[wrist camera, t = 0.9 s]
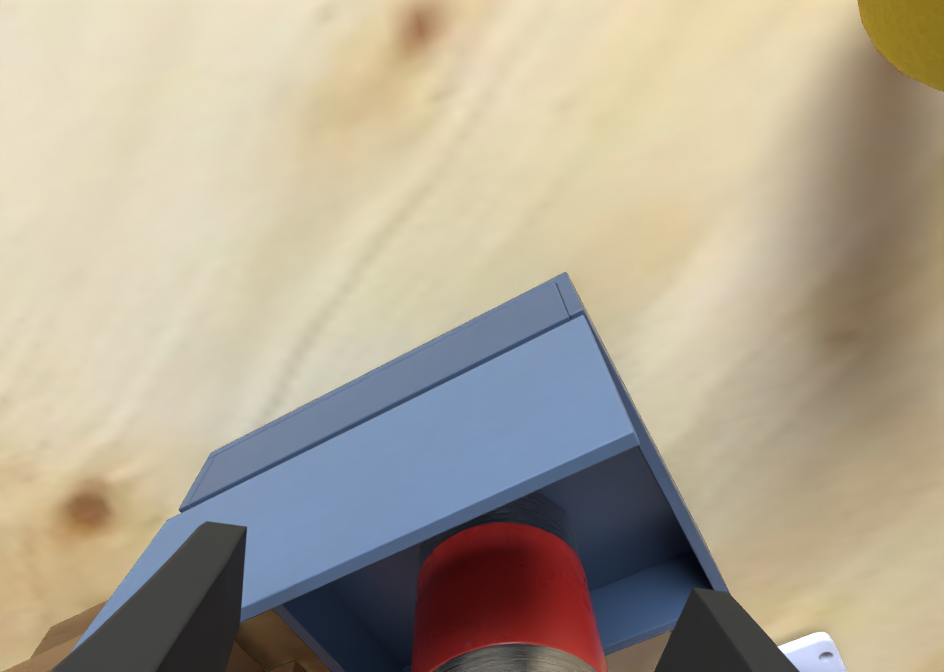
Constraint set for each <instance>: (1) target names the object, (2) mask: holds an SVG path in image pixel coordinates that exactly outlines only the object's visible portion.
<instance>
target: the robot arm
mask: <svg viewBox="0 0 944 672" xmlns="http://www.w3.org/2000/svg"><path fill="white" fill-rule="evenodd" d="M246 537H247V526H239V525H232V524H224V523H217V522H210V521H206V522H204V523H203V524H201V525H199V526H198V527H197V529H196V530H195V531H194V532H193V533H192V534H191V535H190V536H189V537H188V539H187V540H186V541H185V542H184V543H183V544H182V545H181V546H180V547H179V548H178V549H177V551H176V552H175V553H174V554H173V555H172V556H171V557H170V558H169V559H168V560H167V561H166V562H165V563H164V564H163V565H162V566H161V567H160V568H159V569H158V570H157V572H156V573H155V574H154V575H153V576H152V577H151V578H150V579H149V580H148V581H147V582H146V583H145V584H144V585H143V586H142V587H141V588H140V589H139V590H138V591H137V592H136V593H135V594H134V595H133V596H131V597H130V598H129V599H128V600H127V601H126V602H125V603H124V604H123V605H122V606H121V607H120V608H119V609H118V610H117V611H116V612H115V613H114V614H113V615H112V616H111V617H110V618H108V619H107V620H106V621H105V622H104V623H103V624H102V625H101V626H100V627H99V628H98V629H97V630H96V631H95V632H94V633H93V634H92V635H90V636H89V637H88V638H87V639H86V640H85V641H84V642H83V643H82V644H80V645H79V646H78V647H77V648H76V649H75V650H74V651H72V652H71V653H70V654H69V655H68V656H67V657H66V658H64V659H63V660H62V661H61V662H60V663H59V664H58V665H56V666H55V667H54V668H53V669H52V670H51V671H50V672H225V671H226V668H227V664H228V661H229V658H230V655H231V651H232V648H233V645H234V641H235V638H236V635H237V632H238V628H239V625H240V619H241V605H242V592H243V578H244V564H245V550H246ZM654 672H847V671H846V669H845V666H844V664H843V662H842V659H841V657H840V655H839V653H838V650H837V648H836V646H835V643H834V642H833V640H832V639H831V637H830V636H829V634H827V633H825V632H816V633H812V634H810V635H807V636H804V637H802V638H799V639H796V640H793V641H791V642H788V643H785V644H783V645H780V646H777V645H776V644H775V643H774V642H773V641H772V640H771V639H770V638H769V636H768V635H767V634H766V633H765V632H764V631H763V630H762V629H761V627H760V626H759V625H758V624H757V623H756V622H755V621H754V620H753V619H752V617H751V616H750V615H749V614H748V613H747V612H746V611H745V610H744V609H743V608H742V607H741V605H740V604H739V603H738V602H737V601H736V600H735V599H734V598H733V597H732V596H731V595H730V594H729V593H728V592H723V591H716V590H709V589H701V588H694V587H693V588H692V590H691V592H690V594H689V597H688V599H687V601H686V603H685V605H684V608H683V610H682V612H681V614H680V616H679V618H678V621H677V623H676V625H675V627H674V629H673V632H672V634H671V636H670V638H669V640H668V643H667V645H666V647H665V649H664V651H663V653H662V656H661V658H660V660H659V662H658V664H657V667H656V669H655V671H654Z"/></svg>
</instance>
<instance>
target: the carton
mask: <svg viewBox="0 0 944 672" xmlns="http://www.w3.org/2000/svg"><path fill="white" fill-rule="evenodd" d="M581 315H584V317H585V319H586V321H587V323H588V325H589V327H590V329H591V332H592V334H593V336H594V338H595V341H596V343H597V345H598V348H599V350H600V352H601V354H602V357H603V359H604V361H605V364H606V366H607V368H608V370H609V373H610V375H611V377H612V380H613V382H614V384H615V386H616V389H617V391H618V393H619V396H620V398H621V400H622V402H623V405H624V407H625V409H626V412H627V414H628V416H629V418H630V421H631V423H632V425H633V428H634V430H635V432H636V434H637V437H638V439H639V441H640V444H639V445H638V446H636V447H634V448H631V449H629V450H627V451H625V452H622V453H620V454H618V455H616V456H613V457H611V458H609V459H607V460H604V461H602V462H600V463H598V464H595V465H593V466H591V467H589V468H586V469H584V470H582V471H580V472H577V473H575V474H573V475H571V476H569V477H566V478H564V479H562V480H560V481H557V482H555V483H553V484H551V485H548V486H546V487H544V488H542V489H539V490H537V491H535V492H536V493H538V494H541V495H543V496H544V497H546V498H548V499H550V500H551V501H552V502H553V503H555V504H556V505H557V506H558V507H559V508H560V509H561V510H562V511H563V512H564V513H565V515H566V516H567V517H568V519H569V521H570V523H571V525H572V527H573V530H574V533H575V537H576V541H577V546H578V550H579V554H580V558H581V563H582V565H583V568H584V572H585V575H586V579H587V584H588V588H589V592H590V596H591V600H592V605H593V609H594V613H595V617H596V621H597V625H598V630H599V634H600V638H601V642H602V646H603V651H604V655H605V656H606V655H608V654H611V653H614V652H616V651H619V650H621V649H624V648H627V647H629V646H632V645H634V644H637V643H639V642H642V641H645V640H647V639H650V638H652V637H655V636H658V635H660V634H663V633H665V632H668V631H671V630H673V629H674V627H675V625H676V623H677V621H678V618H679V616H680V614H681V612H682V610H683V608H684V605H685V603H686V601H687V599H688V597H689V594H690V592H691V590H692V588H693V587H694V588H701V589H709V590H716V591H723V592H728V593H729V594H730V592H729V590H728V588H727V586H726V584H725V582H724V580H723V578H722V576H721V574H720V572H719V570H718V567H717V565H716V563H715V561H714V559H713V557H712V555H711V553H710V551H709V549H708V547H707V545H706V543H705V541H704V539H703V537H702V535H701V533H700V531H699V529H698V527H697V525H696V523H695V521H694V519H693V518H692V516H691V514H690V512H689V510H688V508H687V506H686V504H685V502H684V500H683V498H682V496H681V494H680V492H679V490H678V488H677V486H676V484H675V482H674V480H673V479H672V477H671V475H670V473H669V471H668V469H667V467H666V465H665V463H664V461H663V459H662V457H661V455H660V453H659V451H658V449H657V447H656V445H655V443H654V442H653V440H652V438H651V436H650V434H649V432H648V430H647V428H646V426H645V424H644V422H643V420H642V418H641V416H640V414H639V412H638V410H637V408H636V406H635V404H634V403H633V401H632V399H631V397H630V395H629V393H628V391H627V389H626V387H625V385H624V383H623V381H622V379H621V377H620V375H619V373H618V371H617V369H616V367H615V365H614V364H613V362H612V360H611V358H610V356H609V354H608V352H607V350H606V348H605V346H604V344H603V342H602V340H601V338H600V336H599V334H598V332H597V330H596V328H595V326H594V325H593V323H592V321H591V319H590V317H589V315H588V313H587V311H586V309H585V307H584V305H583V303H582V301H581V299H580V297H579V295H578V293H577V291H576V289H575V288H574V286H573V284H572V282H571V280H570V278H569V276H568V274H567V273H566V272H564V273H562V274H561V275H559V276H557V277H555V278H553V279H551V280H549V281H547V282H545V283H543V284H541V285H539V286H537V287H535V288H533V289H531V290H529V291H527V292H525V293H523V294H521V295H519V296H517V297H515V298H513V299H512V300H510V301H508V302H506V303H504V304H502V305H500V306H498V307H496V308H494V309H492V310H490V311H488V312H486V313H484V314H482V315H480V316H478V317H476V318H474V319H472V320H470V321H468V322H466V323H464V324H463V325H461V326H459V327H457V328H455V329H453V330H451V331H449V332H447V333H445V334H443V335H441V336H439V337H437V338H435V339H433V340H431V341H429V342H427V343H425V344H423V345H421V346H419V347H417V348H415V349H413V350H412V351H410V352H408V353H406V354H404V355H402V356H400V357H398V358H396V359H394V360H392V361H390V362H388V363H386V364H384V365H382V366H380V367H378V368H376V369H374V370H372V371H370V372H368V373H366V374H364V375H363V376H361V377H359V378H357V379H355V380H353V381H351V382H349V383H347V384H345V385H343V386H341V387H339V388H337V389H335V390H333V391H331V392H329V393H327V394H325V395H323V396H321V397H319V398H317V399H315V400H314V401H312V402H310V403H308V404H306V405H304V406H302V407H300V408H298V409H296V410H294V411H292V412H290V413H288V414H286V415H284V416H282V417H280V418H278V419H276V420H274V421H272V422H270V423H268V424H266V425H265V426H263V427H261V428H259V429H257V430H255V431H253V432H251V433H249V434H247V435H245V436H243V437H241V438H239V439H237V440H235V441H233V442H231V443H229V444H227V445H225V446H223V447H221V448H219V449H217V450H216V451H214V452H212V453H210V455H209V457H208V459H207V461H206V462H205V464H204V466H203V467H202V469H201V471H200V473H199V474H198V476H197V478H196V480H195V481H194V483H193V485H192V487H191V488H190V490H189V492H188V494H187V495H186V497H185V499H184V501H183V502H182V504H181V506H180V508H179V511H180V512H181V513H183V512H185V511H187V510H189V509H191V508H193V507H195V506H197V505H199V504H201V503H203V502H205V501H207V500H209V499H211V498H213V497H215V496H217V495H219V494H221V493H223V492H225V491H227V490H229V489H231V488H233V487H235V486H237V485H239V484H241V483H243V482H245V481H247V480H249V479H251V478H254V477H256V476H258V475H260V474H262V473H264V472H266V471H268V470H270V469H272V468H274V467H276V466H278V465H280V464H282V463H284V462H286V461H288V460H290V459H292V458H294V457H296V456H298V455H300V454H302V453H304V452H306V451H308V450H310V449H312V448H314V447H316V446H318V445H320V444H322V443H324V442H326V441H328V440H330V439H332V438H334V437H336V436H339V435H341V434H343V433H345V432H347V431H349V430H351V429H353V428H355V427H357V426H359V425H361V424H363V423H365V422H367V421H369V420H371V419H373V418H375V417H377V416H379V415H381V414H383V413H385V412H387V411H389V410H391V409H393V408H395V407H397V406H399V405H401V404H403V403H405V402H407V401H409V400H411V399H413V398H415V397H417V396H419V395H421V394H424V393H426V392H428V391H430V390H432V389H434V388H436V387H438V386H440V385H442V384H444V383H446V382H448V381H450V380H452V379H454V378H456V377H458V376H460V375H462V374H464V373H466V372H468V371H470V370H472V369H474V368H476V367H478V366H480V365H482V364H484V363H486V362H488V361H490V360H492V359H494V358H496V357H498V356H500V355H502V354H504V353H506V352H509V351H511V350H513V349H515V348H517V347H519V346H521V345H523V344H525V343H527V342H529V341H531V340H533V339H535V338H537V337H539V336H541V335H543V334H545V333H547V332H549V331H551V330H553V329H555V328H557V327H559V326H561V325H563V324H565V323H567V322H569V321H571V320H573V319H575V318H577V317H579V316H581ZM419 557H420V543H418V544H416V545H414V546H412V547H409V548H407V549H405V550H403V551H400V552H398V553H396V554H394V555H391V556H389V557H387V558H385V559H382V560H380V561H378V562H376V563H373V564H371V565H369V566H367V567H365V568H362V569H360V570H358V571H356V572H353V573H351V574H349V575H347V576H344V577H342V578H340V579H338V580H335V581H333V582H331V583H329V584H326V585H324V586H322V587H320V588H317V589H315V590H313V591H311V592H308V593H306V594H304V595H302V596H299V597H297V598H295V599H293V600H291V601H288V602H286V603H284V604H282V605H279V606H277V607H275V608H273V610H274V611H275V612H276V613H277V614H278V615H279V617H280V618H281V619H282V620H283V621H284V622H285V623H286V624H287V625H288V626H289V627H290V628H291V629H292V630H293V631H294V632H295V633H296V635H297V636H298V637H299V638H300V639H301V640H302V641H303V642H304V643H305V644H306V645H307V646H308V647H309V648H310V649H311V650H312V651H313V652H314V654H315V655H316V656H317V657H318V658H319V659H320V660H321V661H322V662H323V663H324V664H325V665H326V666H327V667H328V668H329V669H330V670H331V672H411V662H412V647H413V632H414V618H415V603H416V588H417V579H418V572H419ZM730 595H731V594H730Z"/></svg>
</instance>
